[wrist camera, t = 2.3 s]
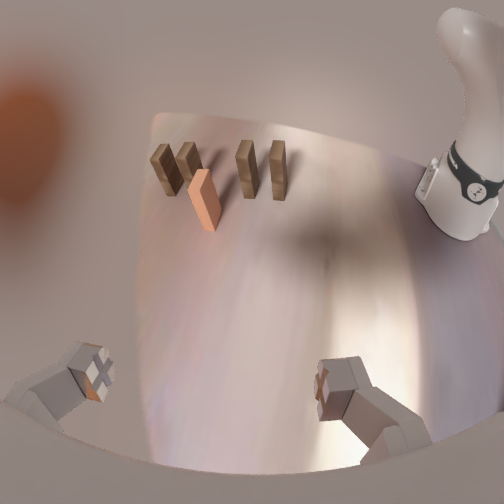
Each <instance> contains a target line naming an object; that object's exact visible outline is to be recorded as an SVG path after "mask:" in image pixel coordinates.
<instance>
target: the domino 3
mask: <svg viewBox="0 0 504 504" xmlns="http://www.w3.org/2000/svg"><path fill="white" fill-rule="evenodd" d="M187 191H188V193H189V195H190V198H191V200H192V202H193V205H194V207H195V210H196V212H197V214H198V217H199V219H200V221H201V223H202V226H203V228H204V230H207V231H215V230H216V227H217V224H218V221H219V218H220V215H221V212H222V208H221V205H220V202H219V199H218V196H217V193H216V190H215V186H214V183H213V180H212V177H211V174H210V170H209V169H197V171H196V173H195V175H194V177H193V179H192V182H191V184H190V186H189V188H188V190H187Z"/></svg>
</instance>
